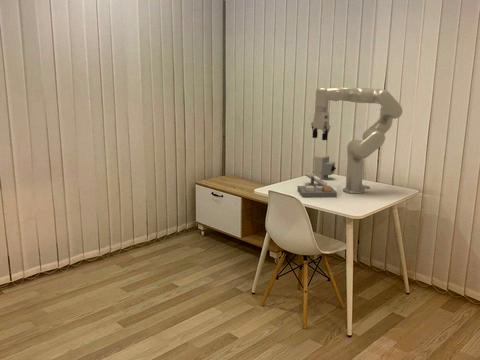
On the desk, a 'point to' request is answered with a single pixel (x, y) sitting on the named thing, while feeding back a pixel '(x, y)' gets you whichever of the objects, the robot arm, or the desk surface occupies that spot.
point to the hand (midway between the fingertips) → (319, 138)
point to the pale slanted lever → (316, 179)
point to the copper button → (326, 188)
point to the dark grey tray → (316, 193)
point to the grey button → (309, 189)
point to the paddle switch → (312, 182)
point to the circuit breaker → (323, 167)
